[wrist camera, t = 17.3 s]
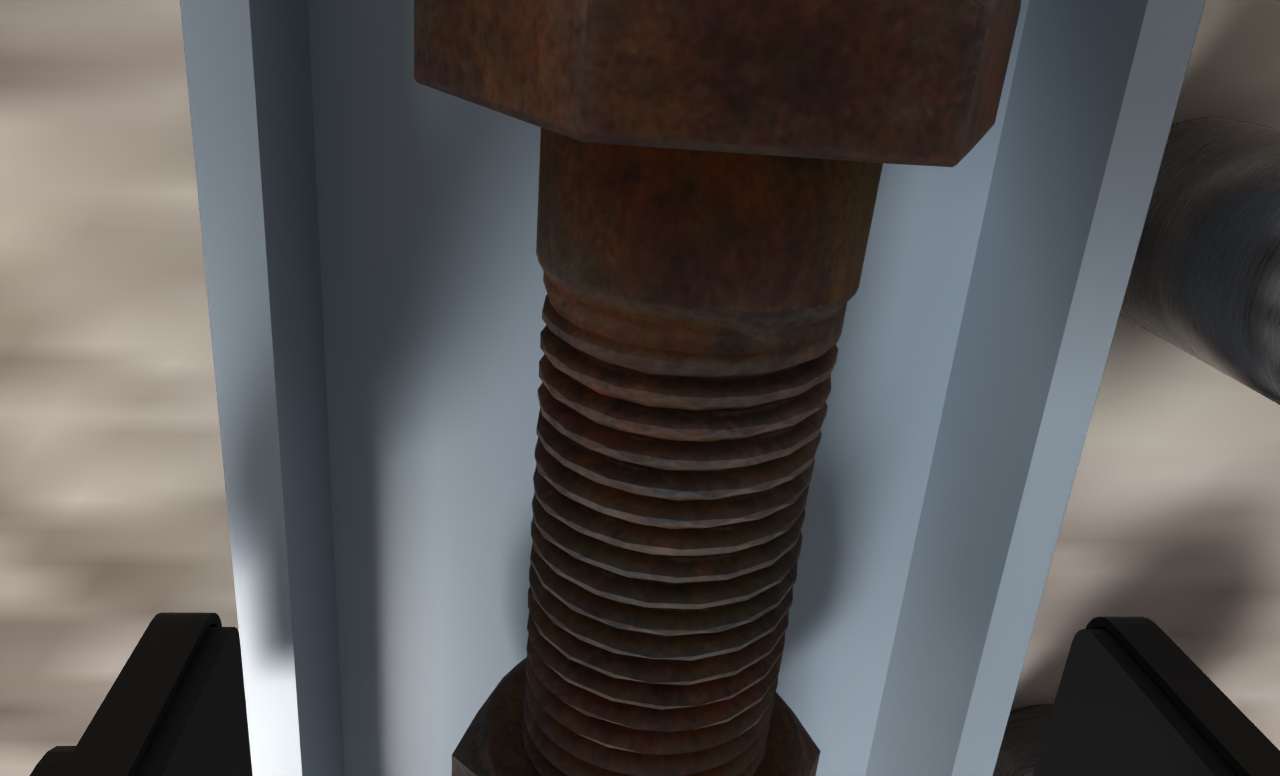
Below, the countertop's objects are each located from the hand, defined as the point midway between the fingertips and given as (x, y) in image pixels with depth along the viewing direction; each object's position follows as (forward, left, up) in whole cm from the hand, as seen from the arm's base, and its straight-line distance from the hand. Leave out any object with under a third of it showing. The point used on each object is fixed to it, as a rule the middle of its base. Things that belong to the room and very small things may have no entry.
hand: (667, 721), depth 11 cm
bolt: (0, -1, -4) cm, 4 cm away
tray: (0, 0, -4) cm, 4 cm away
